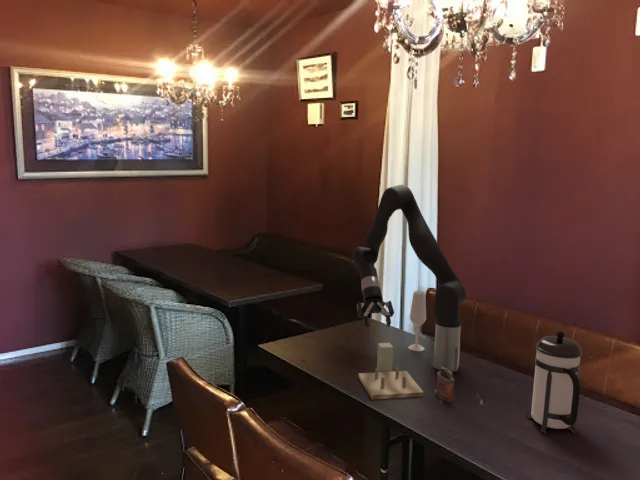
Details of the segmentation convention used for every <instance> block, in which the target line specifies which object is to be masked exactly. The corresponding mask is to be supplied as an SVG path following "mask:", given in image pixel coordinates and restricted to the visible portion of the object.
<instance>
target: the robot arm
mask: <svg viewBox="0 0 640 480" xmlns="http://www.w3.org/2000/svg"><path fill="white" fill-rule="evenodd" d="M399 210H400V211H401V212H402V214H403V215H404V217H405V220H406V223H407V228H408V239H409V240H408V241H409V244H410V245H411V248H412V250H413V251H414V254H415V255H416V257H417V258H418V260H419V261H420V262H421V263H422V264H423V265H424V266H425V267H427V269H429V271H431V272H432V274H433V276H434V277H435V279H436V280H437V281H438V283H439V286H438V287H437V288H436V290H435V293H434V309H433V310H434V314H433V315H434V317H435V331H434V332H435V333H434V344H433V345H434V347H433V348H434V349H433V364H432V365H433V368H434V369H436V370H437V371H439V372H440V371H441V370H440V369H441V367H444V368H448V369H449V371H451V372H452V373H453V372H458V369H459V366H460V353H461V352H460V351H461V329H462V318H461V317H460V316H459V305H460V304H462V303H463V302H464V301H465V300H466V296H467V291H466V288H465V286H464V284H463V283H462V282H461V280H460V279H459V277H458V276H457V274H456V273H455V271H454V270H453V269H452V267H451V265H450V263H449V262H448V259H447V258H446V256H445V254H444V253H443V251H442V249H441V247H440V245H439V243H438V241H437V239H436V238H435V236H434V234H433V232H432V231H431V229H430V228H429V226H428V223H427V222H426V220H425V218H424V216H423V214H422V212H421V210H420V208H419V206H418V202H417V200H416V198H415V195H414V194H413V192H412V190H411V188H410V187H409V186H407V185H405V184H397V185H394V186H390V187H387V188H385V190H384V191H383V193H382V195H381V198H380V200H379V204H378V208H377V210H376V214H375V216H374V220H373V222H372V223H371V224H372V225H371V226H370V228H369V231H368V232H367V234H366V236H365V237H364V240H363V242H364V245H365V246H366V247H365V246H364V247H363V246H357V247H355V248H354V249H353V251H352V260H353V263H354V265H355V267H356V269H357V271H358V273H359V276H360V281H361V283H360V284H361V286H360V287H361V293H362V296H363V297H362V298H363V302H361V301H358V302H357V304H356V313H357V317H358V318H359V319H360V318H361V319H362V321H363V325H364V327H365V328H369V326H370V325H369V319H368V315H369V314H380V315H382V316H384V317H385V322H386V327H387V328H388V327H390V326H391V324H392V320H391V318H393V316H394V314H395V311H394V307H393V304H392V301H391V300H388V301H384V299H383V293H382V288H381V283H380V281H379V275H378V271H377V268H376V267H375V266H374V264H376V263H377V261H378V258H379V252H380V249H381V245H382V243H383V242H384V240H385V238H386V236H387V235H388V228H389V220H390V218H391V217H392V215H393V214H394V213H395V212H396V211H399ZM385 307H386V308H385ZM363 308H365V309H366V310H365V312H364V313H363V312H362V311H363Z"/></svg>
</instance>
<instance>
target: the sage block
mask: <svg viewBox="0 0 640 480" xmlns="http://www.w3.org/2000/svg"><path fill="white" fill-rule="evenodd" d="M393 353H394V346H393V345H392V344H391V343H390V342H380V343H379V342H378V343H377V358H376V369H379V370H378V372H393V358H394V355H393Z"/></svg>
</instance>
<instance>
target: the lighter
mask: <svg viewBox="0 0 640 480" xmlns="http://www.w3.org/2000/svg"><path fill="white" fill-rule="evenodd" d="M440 370H441V371H440ZM440 370H439V371H437V372H436V376H437V379H436V390H435V394H436V396H438V398H440V399H441V400H442V401H444V402H446V403H453V402H454V384H455V382H456V381H455V378H453V376H454V373H453V371H452V372H451V371H449V369H448V368H444V367H441V369H440Z"/></svg>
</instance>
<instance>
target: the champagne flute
mask: <svg viewBox="0 0 640 480" xmlns="http://www.w3.org/2000/svg"><path fill="white" fill-rule="evenodd" d="M426 305H427V302H426V291H423V290H414V291H413V294H412V300H411V306H410V313H409V319H410V321H411V323H412V324H413V325H414V326H415V338H414V339H415V342H414V343H413V344H411V345H409V346H408V347H407V348H408V349H409V350H410V351H414V352H422V351H424V350H425V347H424V346H423V345H421V344H419V334H420V326H423V324H424V323H425V322H426V320H427V306H426Z"/></svg>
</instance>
